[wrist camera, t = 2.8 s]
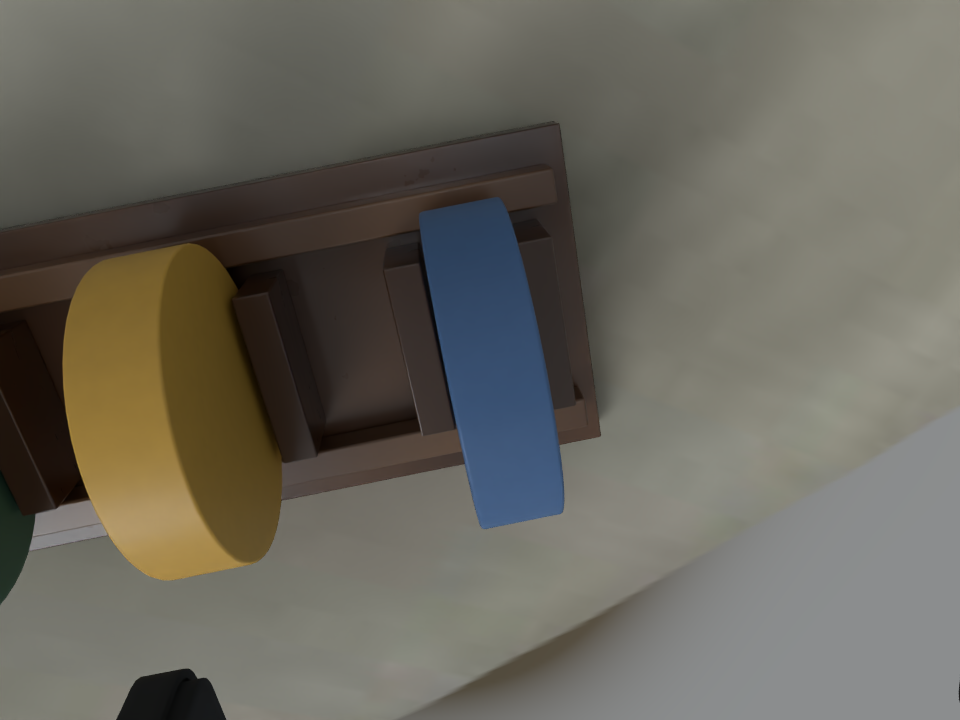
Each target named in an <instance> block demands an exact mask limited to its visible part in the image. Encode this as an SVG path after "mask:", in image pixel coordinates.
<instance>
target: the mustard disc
mask: <svg viewBox="0 0 960 720" xmlns="http://www.w3.org/2000/svg"><path fill="white" fill-rule="evenodd" d="M237 292H238V289H237V287H236V285H235V283H234V282H233V280H232V278H231V277H230V275H229V273H228V272H227V271H226V269H225V268H224V267H223V265H222V264H221V262H220V261H219V260H218V259H217V258H216V257H215V256H214V255H213V254H212V253H211V252H209V251H208V250H207V249H206V248H204V247H202V246H200V245H197V244H191V243H187V244H182V245H176V246H171V247H166V248H161V249H156V250H151V251H146V252H141V253H136V254H131V255H126V256H120V257H115V258H111V259H106V260H103V261H101V262H99V263H98V264H96V265H94V266H93V267H92V268H91V269H90V270H89V271H88V272H87V273H86V274H85V275H84V276H83V278H82V280H81V281H80V283H79V285H78V286H77V288H76V291H75V293H74V296H73V298H72V301H71V304H70V308H69V312H68V316H67V320H66V327H65V334H64V342H63V389H64V398H65V407H66V415H67V420H68V426H69V431H70V437H71V441H72V445H73V449H74V453H75V457H76V461H77V465H78V468H79V471H80V474H81V477H82V479H83V482H84V485H85V488H86V491H87V493H88V496H89V498H90V500H91V503H92V505H93V507H94V510H95V512H96V514H97V516H98V517H99V519H100V521H101V523H102V525H103V527H104V529H105V531H106V532H107V534H108V535H109V537H110V538H111V540H112V541H113V543H114V544H115V546H116V547H117V548H118V549H119V551H120V552H121V553H122V554H123V555H124V556H125V558H126V559H127V560H128V561H129V562H130V563H132V564H133V565H134V566H135V567H136V568H137V569H138V570H140V571H141V572H143V573H145V574H147V575H148V576H150V577H153V578H157V579H160V580H176V579H181V578H186V577H191V576H196V575H201V574H206V573H211V572H216V571H221V570H226V569H231V568H236V567H241V566H246V565H250V564H253V563H256V562H258V561H259V560H260V559H261V558H263V557H264V556H265V554H266V553H267V551H268V550H269V548H270V546H271V544H272V542H273V540H274V536H275V533H276V530H277V525H278V520H279V515H280V507H281V495H282V457H281V454H280V451H279V448H278V445H277V442H276V438H275V435H274V432H273V429H272V426H271V423H270V420H269V417H268V413H267V410H266V407H265V404H264V401H263V398H262V395H261V392H260V388H259V385H258V382H257V379H256V376H255V373H254V370H253V367H252V363H251V360H250V357H249V354H248V351H247V348H246V345H245V342H244V338H243V335H242V332H241V329H240V326H239V323H238V320H237V317H236V313H235V310H234V307H233V304H232V298H233V297H234V296H235V294H236V293H237Z"/></svg>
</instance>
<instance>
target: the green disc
mask: <svg viewBox="0 0 960 720" xmlns="http://www.w3.org/2000/svg"><path fill="white" fill-rule="evenodd" d="M35 515H36V514H32V515H27V516H23V515H22V513H21V511H20V509H19V507H18V505H17V503H16V501H15V499H14V497H13V495H12V493H11V491H10V489H9V487H8V485H7V483H6V481H5V478H4V476H3V474H2V472H1V470H0V604H1V603H2V602H3V601H4V599H5V598H6V597H7V595H8V594H9V592H10V591H11V589H12V588H13V586H14V585H15V583H16V581H17V579H18V577H19V575H20V573H21V571H22V568H23V566H24V563H25V560H26V558H27V555H28V552H29V548H30V544H31V541H32V536H33V530H34V524H35Z"/></svg>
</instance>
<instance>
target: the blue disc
mask: <svg viewBox="0 0 960 720" xmlns="http://www.w3.org/2000/svg"><path fill="white" fill-rule="evenodd" d="M419 225H420V233H421V240H422V246H423V252H424V258H425V264H426V270H427V276H428V282H429V287H430V293H431V298H432V304H433V309H434V314H435V320H436V325H437V330H438V336H439V341H440V346H441V351H442V356H443V361H444V366H445V371H446V376H447V381H448V386H449V391H450V396H451V401H452V406H453V411H454V416H455V421H456V425H457V430H458V435H459V439H460V444H461V449H462V453H463V458H464V462H465V467H466V471H467V476H468V480H469V485H470V489H471V493H472V497H473V501H474V506H475V510H476V513H477V517H478V520H479V524H480V526H481V527H482V529H488V528H493V527H498V526H503V525H508V524H513V523H518V522H522V521H527V520H532V519H537V518H542V517H547V516H552V515H557V514H561V513H562V512H563V509H564V482H563V471H562V462H561V455H560V447H559V440H558V433H557V427H556V420H555V414H554V408H553V402H552V397H551V391H550V385H549V380H548V374H547V369H546V364H545V359H544V354H543V349H542V344H541V339H540V334H539V329H538V325H537V320H536V316H535V311H534V307H533V302H532V298H531V294H530V289H529V285H528V281H527V277H526V273H525V269H524V265H523V261H522V257H521V254H520V250H519V246H518V242H517V239H516V236H515V232H514V229H513V226H512V223H511V220H510V217H509V214H508V212H507V209H506V207H505V205H504V203H503V201H502V200H501V199H500V198H499V197H494V198H489V199H484V200H479V201H474V202H468V203H463V204H458V205H453V206H448V207H443V208H438V209H433V210H428V211H423V212H421V213H419Z"/></svg>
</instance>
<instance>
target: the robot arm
mask: <svg viewBox="0 0 960 720" xmlns="http://www.w3.org/2000/svg"><path fill="white" fill-rule="evenodd" d="M959 701H960V684H959ZM116 720H226V718H225V715H224V713H223V711H222V708H221V706H220V703H219V701H218V699H217V696H216V694H215V691H214V689H213V687H212V685H211V683H210V681H209V680H208V679H207V678H200V679H197V677H196V676H195V674H194V672H193V671H191V670H190V669H180V670H175V671H170V672H165V673H159V674H154V675H149V676H144V677H140V678H139V679H137V680H136V681H135V683H134V684H133V686H132V687H131V689H130V691H129V694H128V696H127V698H126V700H125V702H124V704H123V707H122V709H121V711H120V713H119V715H118V717H117V719H116Z"/></svg>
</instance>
